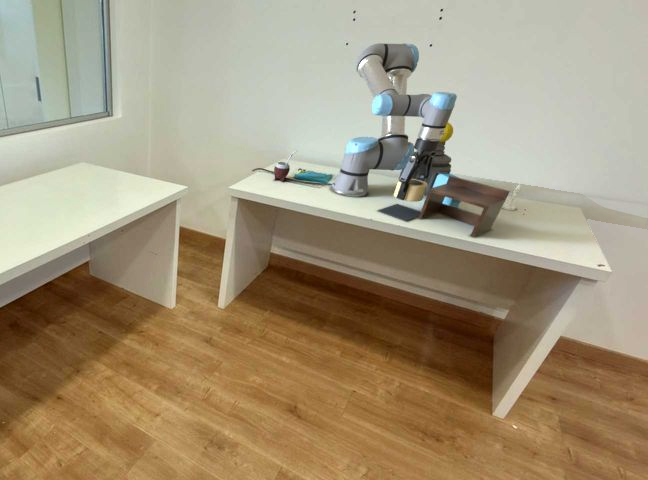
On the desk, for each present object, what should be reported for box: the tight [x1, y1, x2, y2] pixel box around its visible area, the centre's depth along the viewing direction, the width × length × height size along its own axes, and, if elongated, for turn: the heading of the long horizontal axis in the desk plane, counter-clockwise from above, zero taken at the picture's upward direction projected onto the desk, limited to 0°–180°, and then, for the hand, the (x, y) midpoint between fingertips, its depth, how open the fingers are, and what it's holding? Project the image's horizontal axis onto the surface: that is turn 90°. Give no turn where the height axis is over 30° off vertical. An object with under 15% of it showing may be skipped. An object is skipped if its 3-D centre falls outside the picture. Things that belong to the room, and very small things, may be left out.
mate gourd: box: [273, 149, 299, 183], centre depth 194 cm, size 8×8×15 cm
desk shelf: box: [417, 175, 511, 238], centre depth 152 cm, size 20×13×15 cm, turn 32°
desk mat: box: [377, 203, 421, 222], centre depth 165 cm, size 12×14×1 cm
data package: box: [433, 173, 462, 208], centre depth 169 cm, size 12×4×12 cm, turn 6°
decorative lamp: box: [397, 122, 454, 197], centre depth 181 cm, size 19×19×30 cm
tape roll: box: [393, 179, 428, 203], centre depth 159 cm, size 10×10×6 cm
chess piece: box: [501, 184, 521, 211], centre depth 168 cm, size 5×5×10 cm
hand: (407, 196), depth 161 cm, fingers closed on tape roll, 10 cm apart
